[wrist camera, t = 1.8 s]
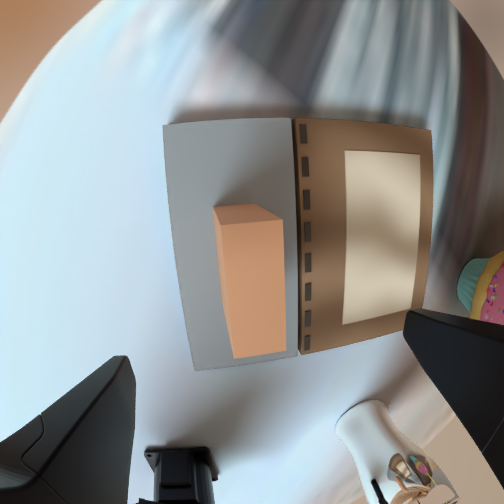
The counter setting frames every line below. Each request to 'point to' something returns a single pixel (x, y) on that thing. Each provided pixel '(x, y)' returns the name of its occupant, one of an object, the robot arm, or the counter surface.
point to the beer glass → (391, 460)
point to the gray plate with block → (234, 238)
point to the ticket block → (360, 228)
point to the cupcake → (483, 288)
